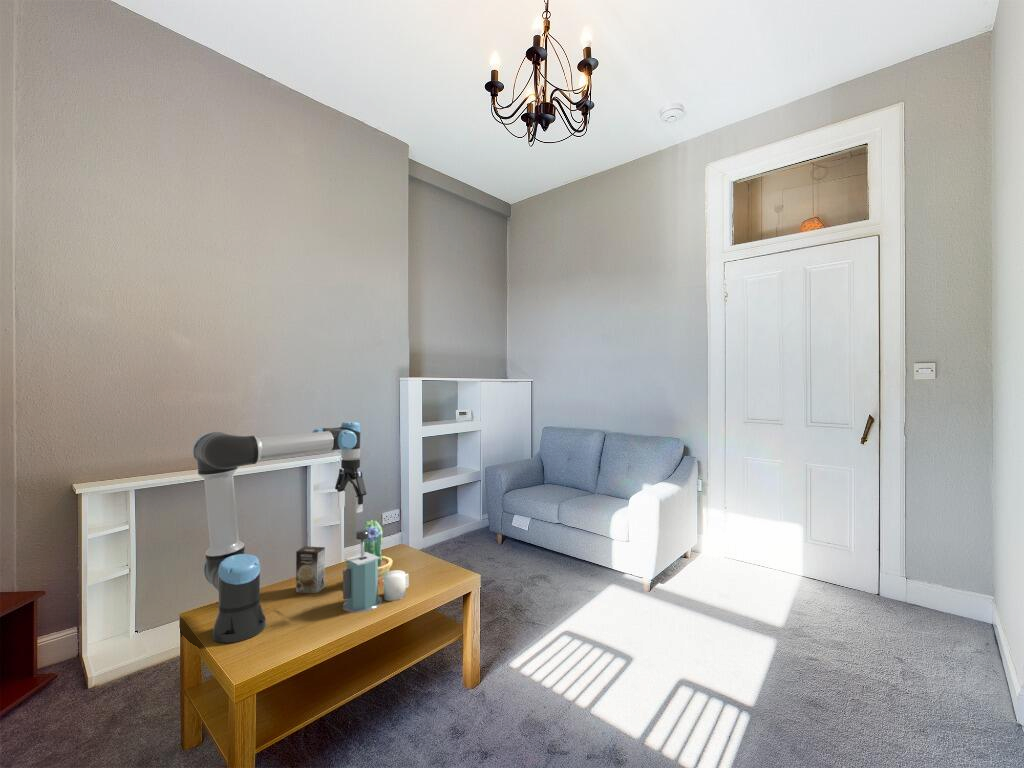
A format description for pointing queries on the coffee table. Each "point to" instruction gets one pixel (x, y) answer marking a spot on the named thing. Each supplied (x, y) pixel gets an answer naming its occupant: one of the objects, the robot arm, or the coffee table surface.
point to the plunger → (362, 540)
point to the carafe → (361, 581)
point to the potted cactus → (376, 547)
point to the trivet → (363, 609)
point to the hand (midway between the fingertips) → (350, 509)
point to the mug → (395, 585)
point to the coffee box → (310, 569)
